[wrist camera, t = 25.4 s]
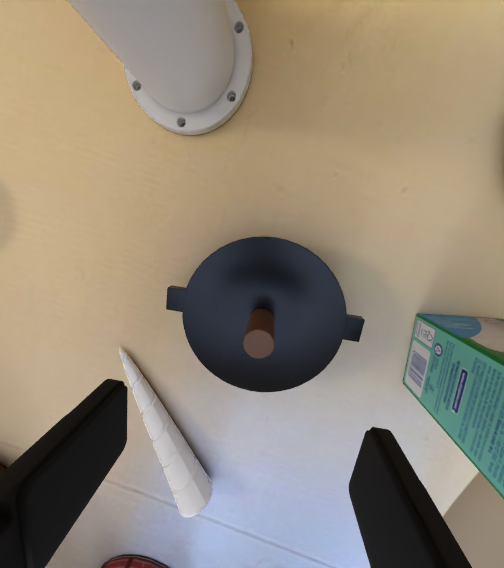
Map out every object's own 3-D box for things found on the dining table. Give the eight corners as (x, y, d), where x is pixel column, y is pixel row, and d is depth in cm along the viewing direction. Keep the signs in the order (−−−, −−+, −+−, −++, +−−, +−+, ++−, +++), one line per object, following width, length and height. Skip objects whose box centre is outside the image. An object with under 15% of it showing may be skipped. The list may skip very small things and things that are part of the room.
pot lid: (193, 225, 22) (163, 222, 16) (360, 250, 21) (394, 256, 15) (180, 371, 26) (153, 412, 20) (324, 397, 25) (340, 449, 19)
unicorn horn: (146, 336, 30) (122, 355, 25) (218, 478, 34) (209, 517, 29) (115, 347, 31) (87, 367, 26) (189, 485, 35) (176, 524, 30)
